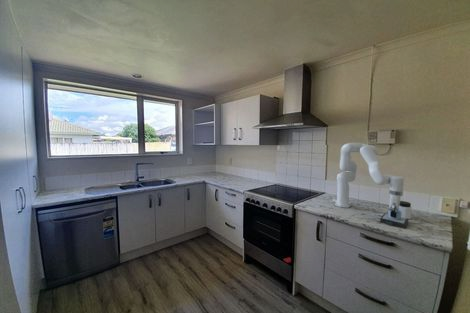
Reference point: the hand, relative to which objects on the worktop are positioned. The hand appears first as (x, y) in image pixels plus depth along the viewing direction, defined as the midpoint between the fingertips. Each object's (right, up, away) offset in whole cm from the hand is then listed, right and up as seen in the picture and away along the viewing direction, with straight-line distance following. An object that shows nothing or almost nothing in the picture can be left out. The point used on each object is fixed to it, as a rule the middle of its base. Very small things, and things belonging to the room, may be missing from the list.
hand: (394, 215), depth 138 cm
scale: (0, -5, 0) cm, 5 cm away
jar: (+15, -5, +10) cm, 19 cm away
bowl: (0, -2, 0) cm, 2 cm away
